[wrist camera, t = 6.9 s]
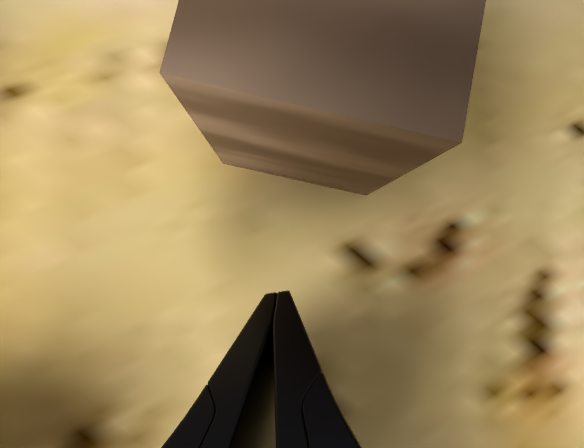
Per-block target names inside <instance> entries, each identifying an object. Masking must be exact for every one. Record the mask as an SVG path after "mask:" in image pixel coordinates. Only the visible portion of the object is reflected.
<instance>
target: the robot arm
mask: <svg viewBox="0 0 584 448" xmlns="http://www.w3.org/2000/svg"><path fill="white" fill-rule="evenodd" d="M161 448H361V446H360V444H359V442H358V441H357V439H356V437H355V435H354V434H353V432H352V430H351V429H350V427H349V425H348V423H347V422H346V420H345V418H344V416H343V414H342V412H341V410H340V409H339V407H338V405H337V403H336V401H335V399H334V396H333V394H332V392H331V390H330V388H329V385H328V383H327V381H326V378H325V376H324V373H323V372H322V369H321V366H320V364H319V362H318V359H317V357H316V354H315V352H314V349H313V347H312V345H311V342H310V340H309V337H308V335H307V332H306V330H305V328H304V325H303V323H302V320H301V318H300V315H299V313H298V311H297V308H296V306H295V303H294V301H293V298H292V296H291V294H290V291H281V292H278V293H276V292H274V293H268V294H265V295H264V297H263V298H262V300H261V302H260V303H259V305H258V306H257V308H256V309H255V311H254V312H253V314H252V315H251V317H250V318H249V320H248V322H247V323H246V325H245V326H244V328H243V329H242V331H241V332H240V334H239V335H238V337H237V338H236V340H235V341H234V343H233V345H232V346H231V348H230V349H229V351H228V352H227V354H226V355H225V357H224V358H223V360H222V361H221V363H220V365H219V366H218V368H217V369H216V371H215V372H214V374H213V375H212V377H211V378H210V380H209V381H208V385H206V386H205V387H204V389H203V390H202V392H201V394H200V395H199V397H198V398H197V400H196V401H195V402H194V404H193V405H192V407H191V408H190V410H189V411H188V413H187V414H186V416H185V417H184V418H183V420H182V421H181V422H180V424H179V425H178V426H177V428H176V429H175V430H174V432H173V433H172V434H171V436H170V437H169V438H168V440H167V441H166V442H165V444H164V445H163V446H162V447H161Z"/></svg>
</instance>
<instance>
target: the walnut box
mask: <svg viewBox="0 0 584 448" xmlns="http://www.w3.org/2000/svg"><path fill="white" fill-rule="evenodd" d="M485 1H486V0H179V2H178V6H177V10H176V13H175V17H174V21H173V25H172V28H171V32H170V36H169V40H168V43H167V47H166V51H165V55H164V58H163V62H162V66H161V70H160V74H161V75H162V77H163V78H164V80H165V81H166V82H167V84H168V85H169V87H170V88H171V90H172V91H173V92H174V94H175V95H176V97H177V98H178V100H179V101H180V102H181V104H182V105H183V107H184V108H185V110H186V111H187V112H188V114H189V115H190V117H191V118H192V120H193V121H194V122H195V124H196V125H197V127H198V128H199V130H200V131H201V132H202V134H203V135H204V137H205V138H206V140H207V141H208V142H209V144H210V145H211V147H212V148H213V150H214V151H215V152H216V154H217V155H218V157H219V158H220V160H221V161H222V162H223V164H228V165H232V166H237V167H241V168H246V169H250V170H255V171H259V172H264V173H268V174H273V175H277V176H282V177H286V178H291V179H295V180H300V181H304V182H309V183H313V184H318V185H322V186H326V187H331V188H335V189H340V190H344V191H349V192H353V193H358V194H362V195H368V194H370V193H371V192H373V191H375V190H377V189H379V188H380V187H382V186H384V185H386V184H388V183H389V182H391V181H393V180H395V179H397V178H399V177H400V176H402V175H404V174H406V173H408V172H409V171H411V170H413V169H415V168H417V167H418V166H420V165H422V164H424V163H426V162H428V161H429V160H431V159H433V158H435V157H437V156H438V155H440V154H442V153H444V152H446V151H447V150H449V149H451V148H453V147H455V146H456V145H458V144H460V143H462V137H463V132H464V126H465V120H466V114H467V108H468V102H469V96H470V90H471V84H472V78H473V72H474V66H475V60H476V55H477V49H478V43H479V37H480V31H481V25H482V19H483V13H484V7H485Z"/></svg>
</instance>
